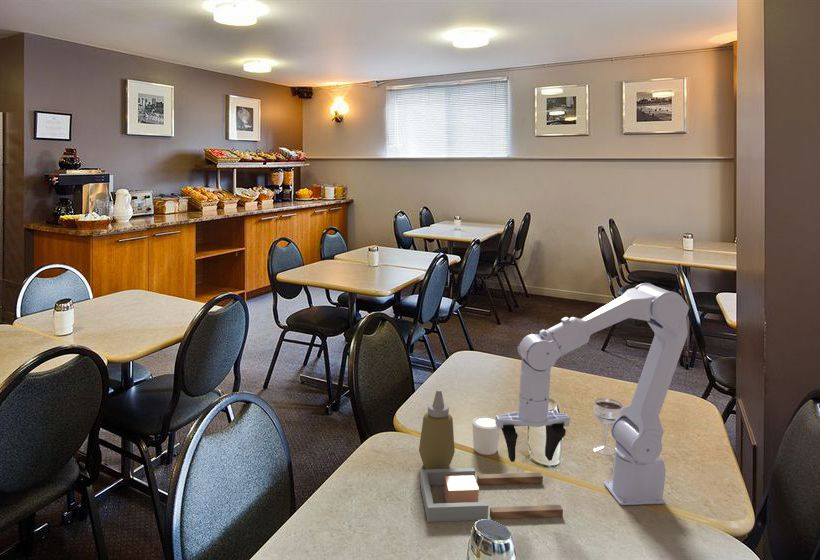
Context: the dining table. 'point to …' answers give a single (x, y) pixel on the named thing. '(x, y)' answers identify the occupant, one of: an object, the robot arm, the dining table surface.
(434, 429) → the squeeze bottle
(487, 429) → the white cup
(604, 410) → the wineglass
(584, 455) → the dining table surface
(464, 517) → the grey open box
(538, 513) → the channel
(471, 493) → the block
